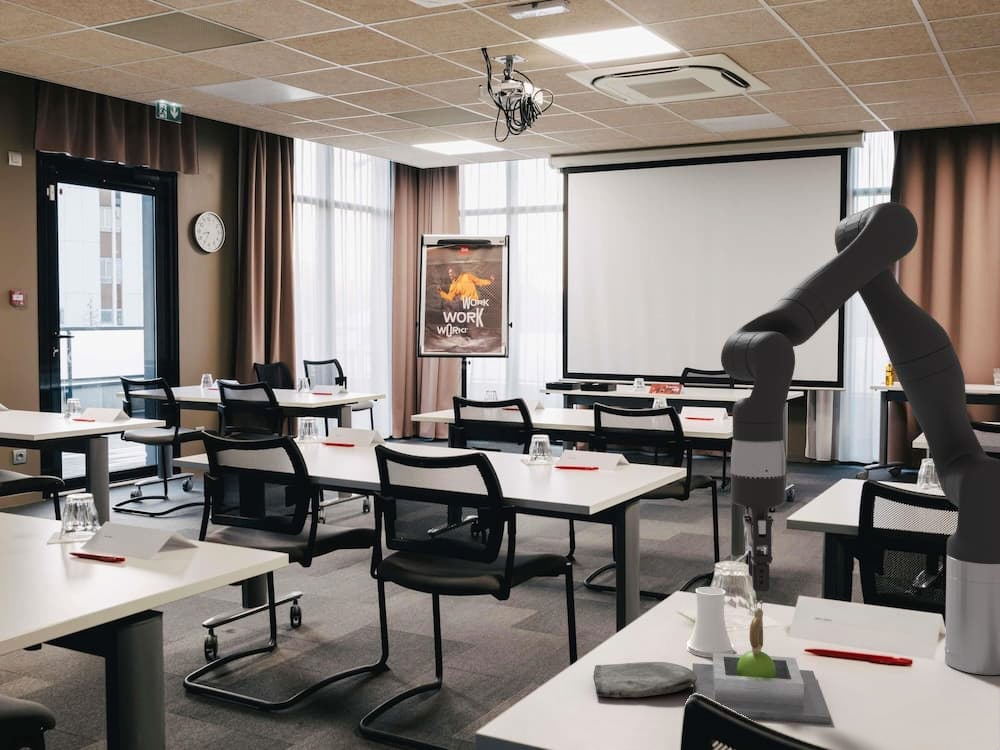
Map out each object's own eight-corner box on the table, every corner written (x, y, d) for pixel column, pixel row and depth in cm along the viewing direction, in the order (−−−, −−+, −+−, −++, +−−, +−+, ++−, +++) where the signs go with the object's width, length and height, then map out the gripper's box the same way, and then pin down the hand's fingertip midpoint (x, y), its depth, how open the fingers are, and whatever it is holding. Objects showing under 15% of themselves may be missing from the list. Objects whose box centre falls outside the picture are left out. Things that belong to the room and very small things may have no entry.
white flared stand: (732, 644, 161) (732, 585, 161) (735, 659, 154) (735, 597, 154) (686, 641, 163) (686, 583, 162) (687, 656, 155) (687, 595, 155)
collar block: (812, 677, 146) (813, 651, 146) (830, 724, 128) (830, 694, 128) (692, 669, 149) (692, 644, 149) (693, 714, 132) (693, 685, 131)
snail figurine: (777, 681, 141) (778, 601, 140) (774, 697, 135) (775, 613, 134) (739, 677, 143) (740, 598, 142) (735, 692, 137) (735, 609, 136)
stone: (694, 677, 146) (597, 688, 147) (690, 650, 146) (593, 662, 147) (701, 696, 135) (596, 708, 136) (697, 667, 135) (592, 679, 137)
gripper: (790, 478, 129) (791, 597, 130) (780, 464, 143) (780, 571, 144) (733, 478, 131) (734, 595, 131) (728, 464, 145) (729, 570, 145)
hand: (758, 582), depth 138 cm, fingers open, 8 cm apart
